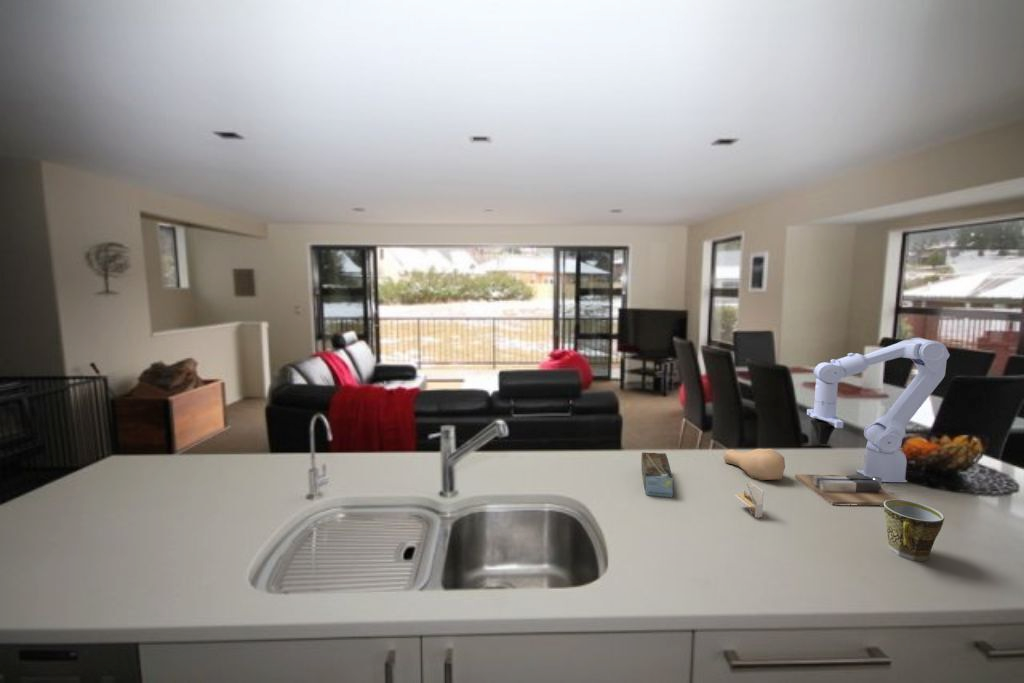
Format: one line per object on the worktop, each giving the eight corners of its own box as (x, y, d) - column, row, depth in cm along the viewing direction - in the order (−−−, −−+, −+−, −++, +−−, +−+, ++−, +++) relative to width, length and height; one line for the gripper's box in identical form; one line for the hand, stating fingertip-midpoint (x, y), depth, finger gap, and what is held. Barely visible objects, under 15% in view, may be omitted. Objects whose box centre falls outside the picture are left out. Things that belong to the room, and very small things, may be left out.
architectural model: (749, 520, 117) (751, 492, 116) (734, 507, 124) (735, 480, 123) (762, 519, 117) (764, 491, 116) (746, 506, 124) (748, 480, 123)
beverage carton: (643, 495, 130) (644, 473, 129) (640, 469, 149) (641, 450, 148) (673, 498, 128) (674, 476, 127) (666, 471, 147) (666, 451, 146)
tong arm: (877, 485, 132) (878, 476, 132) (883, 489, 130) (884, 479, 129) (812, 483, 134) (813, 474, 133) (816, 486, 131) (817, 477, 131)
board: (858, 478, 140) (859, 475, 140) (906, 506, 122) (906, 502, 122) (794, 477, 141) (795, 474, 141) (832, 505, 123) (832, 501, 123)
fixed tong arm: (873, 489, 130) (874, 480, 129) (878, 492, 128) (879, 482, 128) (819, 489, 131) (819, 479, 130) (823, 492, 129) (823, 482, 128)
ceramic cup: (884, 535, 108) (888, 495, 107) (942, 553, 101) (947, 510, 99) (872, 557, 100) (876, 513, 98) (934, 578, 92) (939, 531, 91)
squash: (771, 489, 134) (766, 459, 133) (716, 472, 152) (711, 446, 152) (795, 476, 138) (790, 448, 137) (739, 462, 156) (735, 436, 156)
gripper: (798, 395, 150) (795, 436, 152) (827, 407, 136) (824, 451, 137) (820, 395, 150) (817, 436, 151) (851, 407, 135) (848, 451, 137)
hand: (822, 443), depth 144 cm, fingers closed
